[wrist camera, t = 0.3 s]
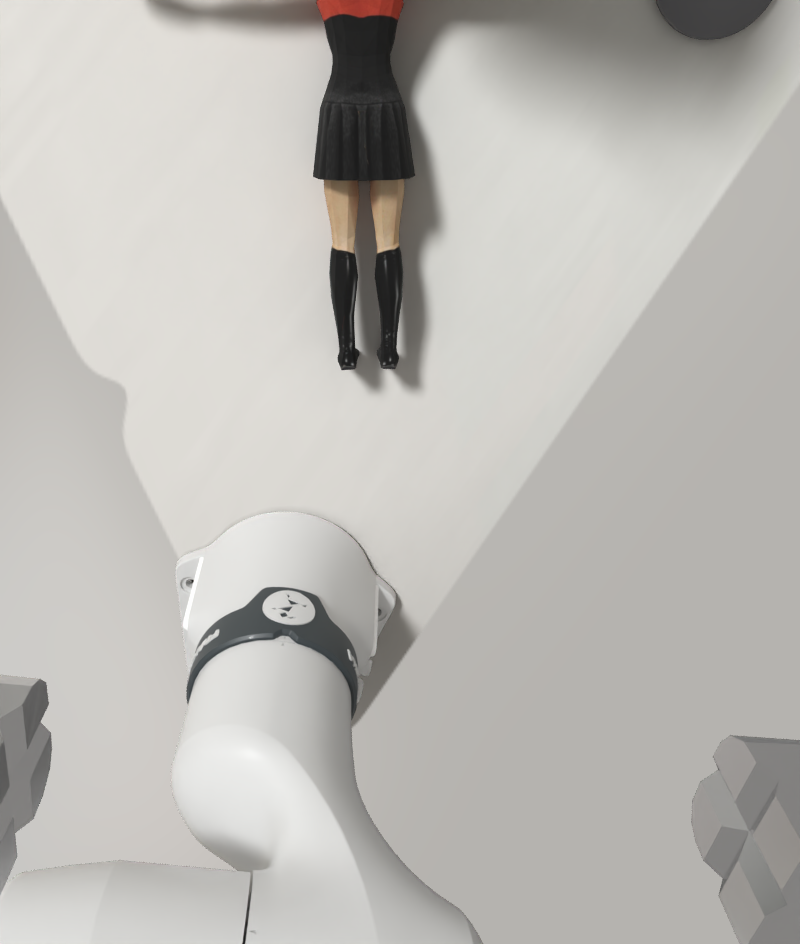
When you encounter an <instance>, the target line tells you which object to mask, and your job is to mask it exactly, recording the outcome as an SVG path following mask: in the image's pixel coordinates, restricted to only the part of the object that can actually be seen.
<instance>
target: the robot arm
mask: <svg viewBox="0 0 800 944" xmlns="http://www.w3.org/2000/svg"><path fill="white" fill-rule="evenodd" d="M175 575H176V584H177V591H178V599H179V607H180V615H181V623H182V632H183V640H184V648H185V655H186V664H187V671H188V680H187V703H188V707H187V711H186V715H185V718H184V722H183V726H182V730H181V733H180V737H179V741H178V745H177V749H176V752H175V756H174V759H173V763H172V767H171V788H172V794H173V798H174V801H175V804H176V806H177V808H178V810H179V812H180V815H181V817H182V818H183V820H184V822H185V824H186V826H187V827H188V829H189V830H190V832H191V833H192V835H193V836H194V837H195V838H196V840H197V841H198V842H199V843H201V844H202V845H203V846H204V847H205V848H206V849H208V850H209V851H210V852H212V853H213V854H215V855H216V856H217V857H219V858H220V859H222V860H223V861H225V862H226V863H228V864H229V865H231V866H232V867H233V868H235V869H236V870H237V871H233V870H221V869H211V868H200V867H188V866H178V865H166V864H156V863H145V862H133V861H123V860H118V861H108V862H97V863H88V864H77V865H69V866H62V867H55V868H48V869H40V870H33V871H26V872H22V873H20V874H18V875H16V876H15V877H14V878H13V879H11V880H10V881H8V882H7V883H6V881H7V879H8V876H9V874H10V871H11V870H12V867H13V865H14V863H15V860H16V858H17V848H16V839H15V833H16V832H17V831H18V830H20V829H21V828H22V827H24V826H25V825H26V824H27V823H29V822H30V821H31V820H33V819H34V816H35V814H36V811H37V809H38V806H39V804H40V802H41V799H42V797H43V793H44V790H45V786H46V782H47V778H48V774H49V770H50V762H51V751H52V744H51V732H50V731H48V730H47V728H46V727H45V726H44V725H43V724H42V723H41V719H42V717H43V715H44V713H45V711H46V709H47V707H48V704H49V702H48V694H47V685H46V682H44V681H43V680H41V679H35V678H25V677H17V676H7V675H0V944H483V943H482V941H481V939H480V937H479V935H478V933H477V932H476V930H475V929H474V927H473V925H472V924H471V922H470V921H469V920H468V919H467V917H466V916H465V915H464V913H463V912H462V911H461V910H460V909H459V908H457V907H456V906H454V905H453V904H451V903H450V902H448V901H447V900H446V899H444V898H443V897H441V896H440V895H438V894H437V893H436V892H434V891H433V890H432V889H431V888H429V887H428V886H427V885H425V884H424V883H423V882H422V881H421V880H420V879H419V878H418V877H417V876H416V875H415V874H414V873H413V872H412V871H411V870H410V869H408V867H407V866H406V865H405V864H404V863H403V862H402V861H401V860H400V858H399V857H398V856H397V855H396V854H395V853H394V851H393V850H392V849H391V847H390V846H389V845H388V843H387V842H386V841H385V840H384V838H383V837H382V835H381V834H380V832H379V830H378V829H377V827H376V826H375V825H374V823H373V821H372V819H371V818H370V816H369V814H368V812H367V810H366V808H365V805H364V803H363V801H362V799H361V796H360V793H359V790H358V787H357V783H356V778H355V771H354V760H353V750H352V732H351V720H352V718H353V716H354V713H355V711H356V706H357V704H358V702H359V700H360V698H361V695H362V691H363V680H362V679H361V678H359V676H360V675H363V676H368V675H369V674H370V671H371V668H372V660H370V657H372V656H374V655H375V653H376V648H377V638H378V636H379V635H380V633H381V631H382V629H383V627H384V625H385V624H386V622H387V620H388V618H389V616H390V615H391V613H392V611H393V609H394V607H395V602H396V594H395V592H394V590H393V589H392V588H391V587H390V586H389V585H388V584H387V583H386V582H385V581H384V580H382V579H381V578H380V577H379V576H377V575H376V574H375V572H374V571H373V569H372V568H371V566H370V564H369V561H368V559H367V557H366V555H365V553H364V552H363V550H362V549H361V547H360V546H359V545H358V543H357V542H356V541H355V540H354V539H353V538H352V537H351V536H350V535H349V534H348V533H346V532H345V531H344V530H343V529H341V528H340V527H338V526H336V525H335V524H333V523H331V522H329V521H327V520H324V519H322V518H319V517H316V516H313V515H309V514H304V513H298V512H271V513H265V514H260V515H256V516H253V517H250V518H248V519H245V520H243V521H241V522H239V523H237V524H236V525H234V526H232V527H231V528H229V529H228V530H227V531H226V532H224V533H223V534H222V535H221V536H220V537H219V538H218V539H217V540H216V541H214V542H213V543H212V544H211V545H209V546H208V547H205V548H202V549H199V550H196V551H193V552H191V553H188V554H186V555H184V556H182V557H181V558H180V559H179V560H178V562H177V565H176V570H175ZM189 579H192V580H194V582H193V583H192V582H189V581H188V580H189ZM378 609H380V610H379V611H378ZM713 758H714V760H715V763H716V765H717V767H718V770H717V771H716V772H714V773H713V774H711V775H710V776H708V777H707V778H705V779H704V780H702V781H701V782H700V784H699V787H698V789H697V791H696V793H695V796H694V798H693V801H692V826H693V832H694V837H695V841H696V843H697V846H698V848H699V851H700V853H701V856H702V858H703V861H705V862H706V863H707V864H708V865H709V866H710V867H711V868H712V869H713V870H714V871H715V872H716V873H718V874H719V875H720V876H721V877H722V878H723V881H722V885H721V888H720V892H719V898H720V900H721V902H722V904H723V907H724V909H725V911H726V914H727V916H728V918H729V920H730V923H731V925H732V927H733V929H734V932H735V934H736V936H737V939H738V941H739V943H740V944H800V740H789V739H774V738H761V737H747V736H733V735H730V736H729V737H727V738H726V739H724V740H723V741H722V742H720V745H719V746H718V748H717V750H716V752H715V754H714V756H713ZM5 883H6V884H5Z"/></svg>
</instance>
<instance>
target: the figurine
mask: <svg viewBox="0 0 800 944" xmlns="http://www.w3.org/2000/svg"><path fill="white" fill-rule="evenodd" d="M316 4H317V6H318V8H319V11H320V13H321V16H322V18H323V21H324V24H325V29H326V34H327V39H328V43H329V46H330V49H331V52H332V55H333V65H332V73H331V77H330V80H329V83H328V86H327V89H326V92H325V95H324V98H323V101H322V104H321V107H320V115H319V125H318V134H317V144H316V153H315V163H314V172H313V177H315V178H318V179H323V180H324V190H325V197H326V202H327V207H328V213H329V218H330V223H331V230H332V241H333V244H332V249H331V257H330V273H329V274H330V286H331V298H332V304H333V309H334V315H335V320H336V326H337V332H338V338H339V348H340V351H339V355H338V362H339V365H340V367H341V370H351V369H355V368H356V364H357V359H358V356H359V351H358V350H357V349H356V348H355V333H354V310H355V301H356V291H357V281H358V272H357V265H356V257H355V250H354V244H355V230H356V221H357V212H358V203H359V188H358V181H370V200H371V206H372V213H373V219H374V225H375V233H376V242H377V255H376V268H375V280H376V287H377V294H378V301H379V308H380V318H381V348H380V349H378V350H377V356H378V358H379V361H380V365H381V368H383V369H395V368H396V366H397V363H398V360H399V356H398V353H397V349H396V345H397V331H398V323H399V314H400V307H401V301H402V287H403V268H402V259H401V251H400V246H399V225H400V218H401V211H402V204H403V197H404V179H408V178H411V177H413V176H415V173H414V166H413V160H412V153H411V146H410V139H409V133H408V126H407V119H406V113H405V107H404V104H403V101H402V99H401V96H400V93H399V91H398V88H397V85H396V82H395V80H394V77H393V74H392V70H391V64H390V53H391V50H392V46H393V43H394V38H395V32H396V27H397V22H398V19H399V16H400V13H401V9H402V7H403V4H404V3H403V0H317V2H316Z"/></svg>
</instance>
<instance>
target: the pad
mask: <svg viewBox="0 0 800 944" xmlns="http://www.w3.org/2000/svg"><path fill="white" fill-rule="evenodd" d="M771 1H772V0H656V2H657V5H658V7H659V9H660V12H661V13H662V15H663V16H664V18H665V19H666V21H667V22H668V23H669V24H670V25H671V26H672V27H673V28H674V29H676V30H677V31H678V32H680V33H682V34H684V35H686V36H688V37H691V38H696V39H705V40H709V39H718V38H723V37H727V36H730V35H732V34H735V33H737V32H739V31H740V30H742V29H744V28H746V27H747V26H748V25H750V24H751V23H752V22H753V21H755V20H756V19H757V18H758V17H759V16H760V15H761V14H762V13H763V11H764V10H765V9H766V8H767V7H768V5H769V4H770V2H771Z"/></svg>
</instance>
